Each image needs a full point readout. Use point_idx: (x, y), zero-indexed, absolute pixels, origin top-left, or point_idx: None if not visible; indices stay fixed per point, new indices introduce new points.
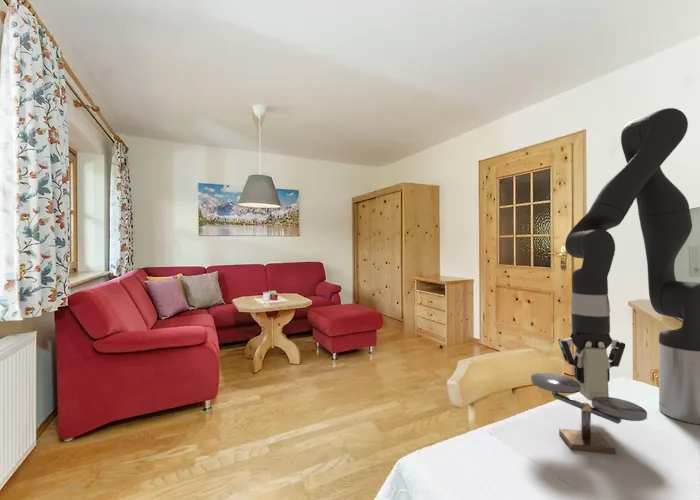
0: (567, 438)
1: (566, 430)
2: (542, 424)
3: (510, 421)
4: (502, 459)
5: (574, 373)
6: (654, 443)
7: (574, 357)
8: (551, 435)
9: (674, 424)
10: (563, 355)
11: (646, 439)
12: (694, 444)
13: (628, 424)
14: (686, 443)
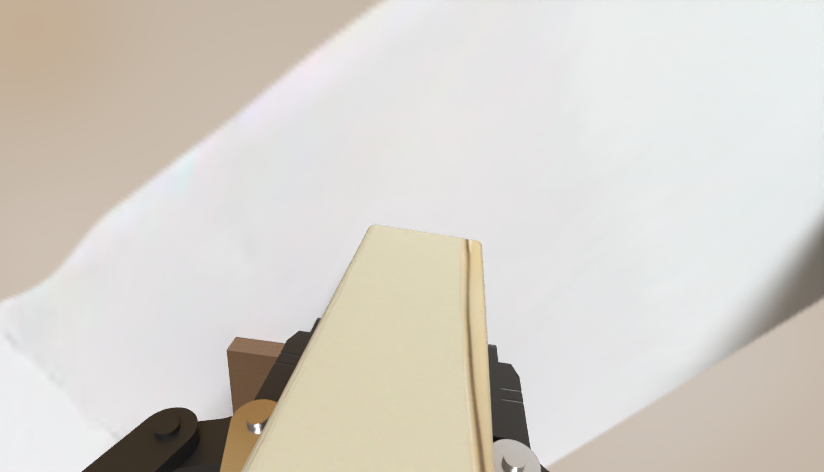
0: (232, 400)
1: (247, 361)
2: (194, 279)
3: (74, 262)
4: (50, 440)
5: (277, 363)
6: (540, 379)
7: (223, 470)
8: (206, 344)
9: (792, 255)
10: (96, 467)
11: (534, 359)
12: (685, 382)
13: (562, 264)
14: (662, 377)
